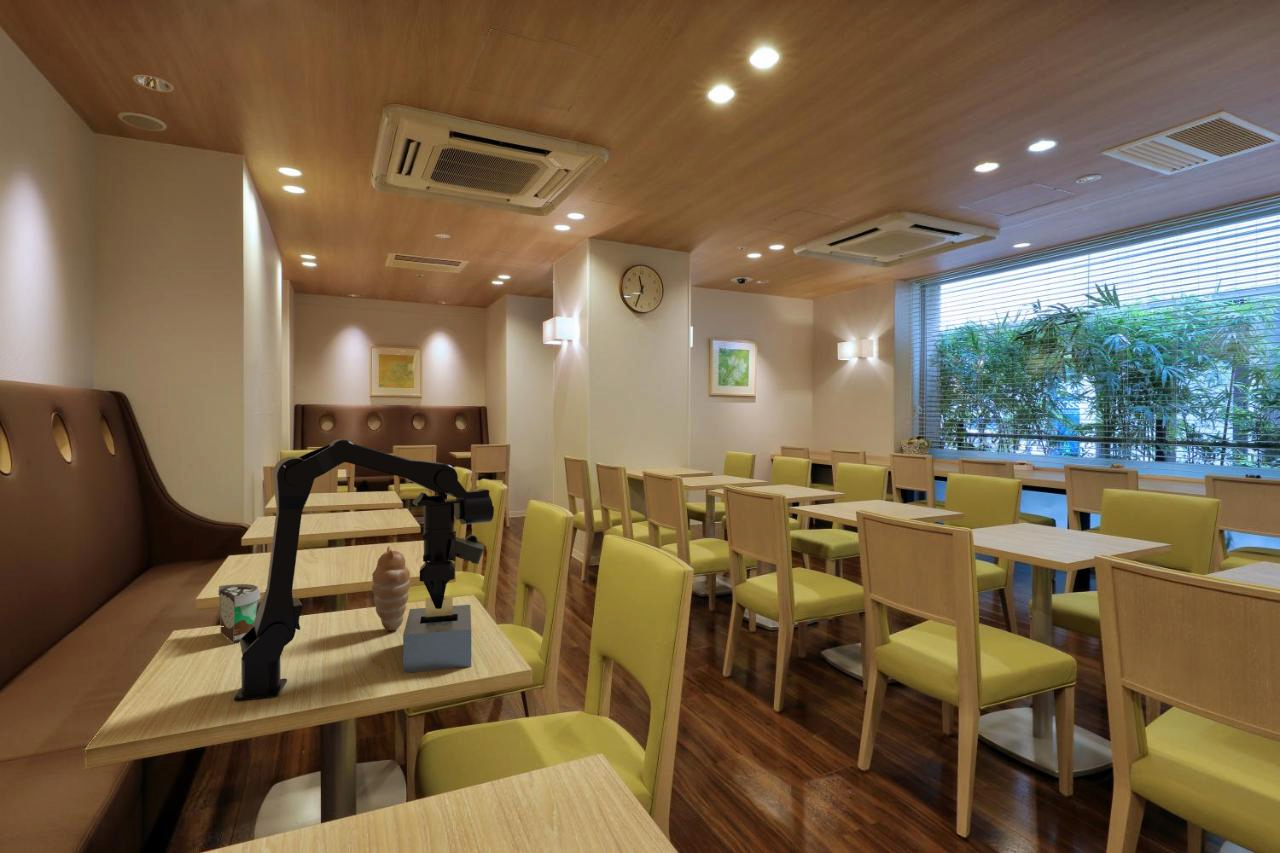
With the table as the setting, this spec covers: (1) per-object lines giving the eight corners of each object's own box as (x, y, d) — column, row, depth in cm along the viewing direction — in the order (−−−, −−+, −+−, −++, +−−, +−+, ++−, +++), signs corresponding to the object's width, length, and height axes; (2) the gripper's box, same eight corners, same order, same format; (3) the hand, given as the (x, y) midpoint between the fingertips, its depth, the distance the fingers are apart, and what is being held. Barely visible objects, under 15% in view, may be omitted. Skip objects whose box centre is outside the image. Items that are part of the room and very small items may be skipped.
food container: (269, 638, 134) (269, 590, 134) (235, 646, 130) (235, 597, 129) (250, 624, 142) (250, 580, 142) (218, 631, 138) (218, 585, 138)
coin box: (471, 666, 120) (471, 629, 119) (403, 673, 116) (403, 634, 116) (470, 637, 135) (470, 604, 135) (410, 642, 132) (410, 609, 132)
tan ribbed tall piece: (370, 627, 141) (370, 546, 141) (407, 621, 145) (407, 542, 145) (373, 639, 133) (373, 553, 133) (413, 633, 137) (413, 550, 137)
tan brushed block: (452, 614, 125) (452, 599, 125) (425, 617, 123) (425, 601, 123) (452, 610, 128) (452, 595, 128) (425, 612, 126) (425, 597, 126)
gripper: (482, 533, 118) (482, 617, 119) (480, 517, 136) (480, 590, 137) (419, 536, 115) (419, 622, 116) (425, 519, 133) (425, 594, 134)
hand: (439, 606), depth 125 cm, fingers closed on tan brushed block, 3 cm apart
